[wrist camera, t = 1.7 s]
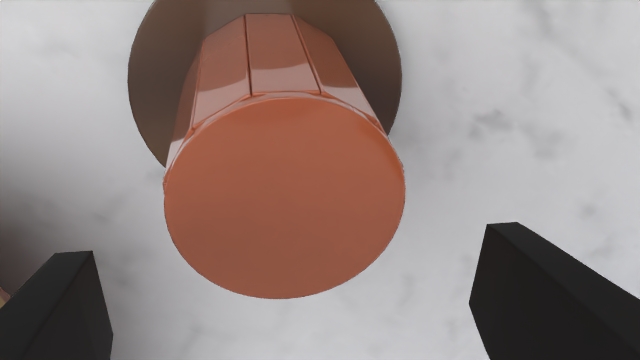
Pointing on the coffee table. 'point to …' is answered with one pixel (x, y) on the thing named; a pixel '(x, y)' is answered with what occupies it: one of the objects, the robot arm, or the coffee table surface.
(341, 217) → the orange cylinder
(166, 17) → the brown peg stand
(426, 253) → the coffee table surface
